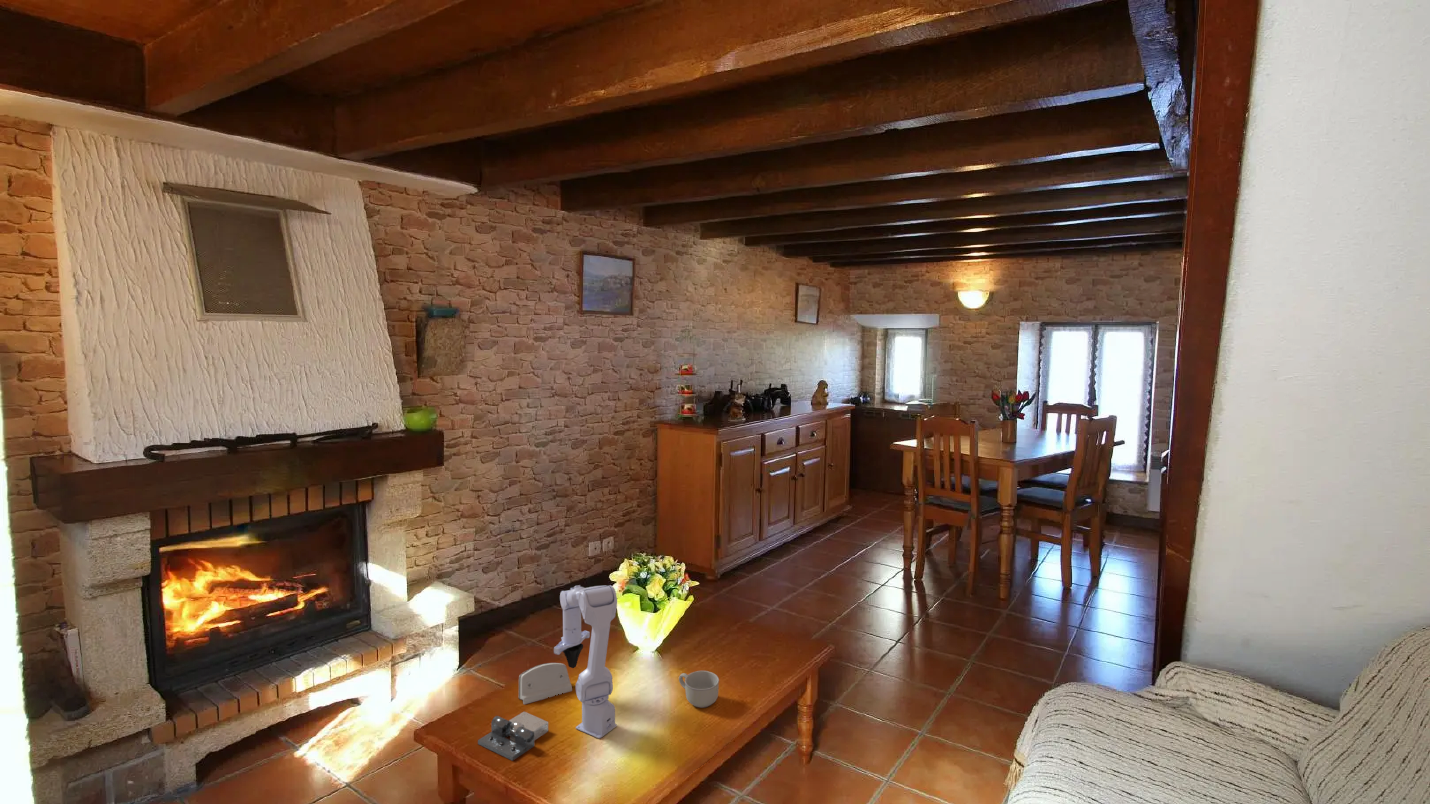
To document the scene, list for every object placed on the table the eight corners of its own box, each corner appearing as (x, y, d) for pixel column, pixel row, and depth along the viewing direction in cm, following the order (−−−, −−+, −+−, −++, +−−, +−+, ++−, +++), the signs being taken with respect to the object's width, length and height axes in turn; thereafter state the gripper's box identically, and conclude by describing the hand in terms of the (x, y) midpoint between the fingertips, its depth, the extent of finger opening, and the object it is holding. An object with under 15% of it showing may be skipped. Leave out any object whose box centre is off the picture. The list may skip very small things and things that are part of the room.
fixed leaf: (534, 746, 199) (534, 729, 199) (512, 760, 193) (512, 743, 192) (499, 730, 207) (499, 713, 206) (477, 743, 200) (477, 727, 199)
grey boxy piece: (548, 731, 207) (548, 716, 206) (524, 746, 199) (524, 731, 199) (524, 720, 212) (524, 706, 211) (500, 735, 204) (500, 720, 204)
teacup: (725, 702, 224) (725, 678, 223) (701, 716, 216) (702, 691, 215) (694, 686, 233) (694, 663, 232) (670, 698, 225) (670, 675, 224)
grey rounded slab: (522, 704, 220) (518, 671, 222) (518, 702, 224) (514, 670, 226) (573, 690, 229) (569, 658, 231) (568, 688, 233) (564, 657, 235)
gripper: (578, 615, 232) (578, 654, 234) (546, 631, 220) (546, 672, 222) (594, 620, 229) (594, 659, 230) (563, 637, 217) (563, 678, 218)
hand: (572, 666), depth 226 cm, fingers closed
